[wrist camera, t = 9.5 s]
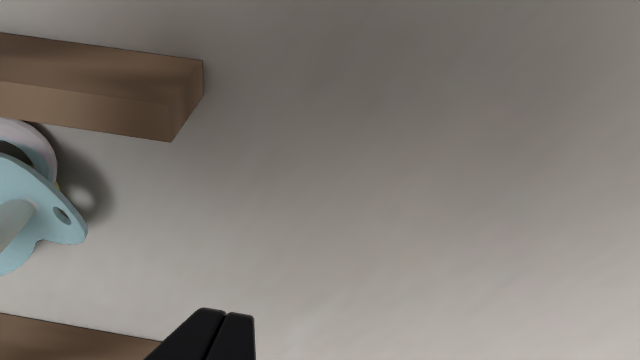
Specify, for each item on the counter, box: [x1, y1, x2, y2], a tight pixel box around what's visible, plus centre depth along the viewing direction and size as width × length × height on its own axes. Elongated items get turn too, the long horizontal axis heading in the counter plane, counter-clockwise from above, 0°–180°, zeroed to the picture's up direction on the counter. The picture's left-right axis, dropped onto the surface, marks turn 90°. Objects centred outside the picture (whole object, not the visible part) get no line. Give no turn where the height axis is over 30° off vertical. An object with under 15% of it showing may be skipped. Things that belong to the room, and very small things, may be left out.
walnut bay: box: [0, 33, 204, 360], centre depth 22 cm, size 15×16×3 cm
